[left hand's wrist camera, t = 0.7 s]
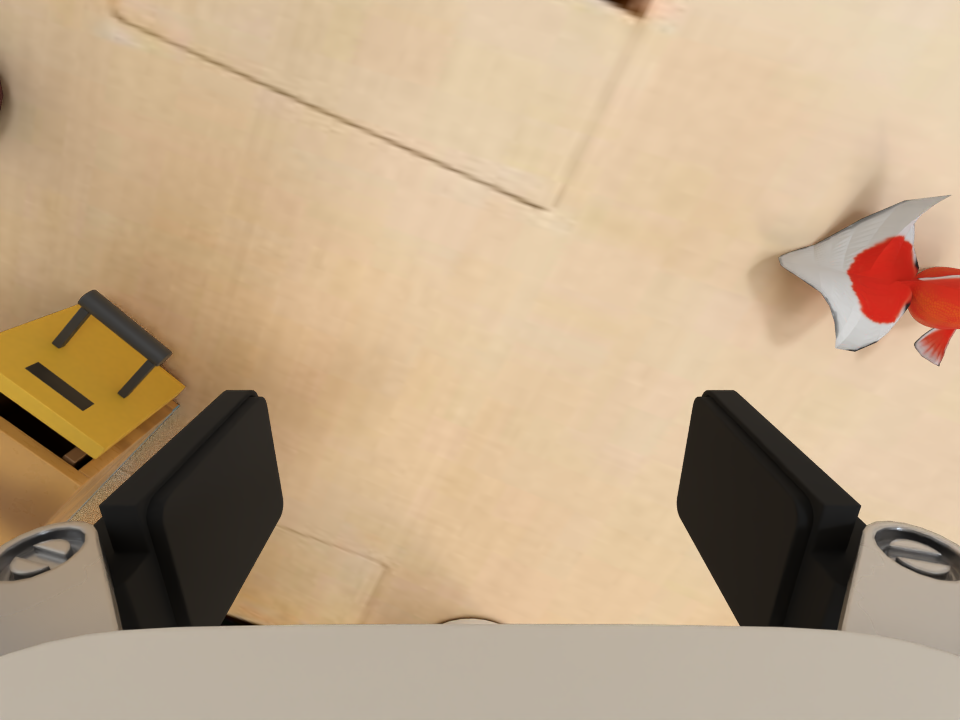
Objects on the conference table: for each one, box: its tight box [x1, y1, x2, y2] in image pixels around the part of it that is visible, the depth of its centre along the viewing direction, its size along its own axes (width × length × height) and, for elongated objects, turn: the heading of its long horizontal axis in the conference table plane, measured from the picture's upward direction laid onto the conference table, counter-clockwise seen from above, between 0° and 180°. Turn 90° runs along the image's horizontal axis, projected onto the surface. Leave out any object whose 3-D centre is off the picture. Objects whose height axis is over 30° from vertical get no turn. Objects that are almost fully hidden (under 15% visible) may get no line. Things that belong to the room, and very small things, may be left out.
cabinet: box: [0, 400, 180, 546], centre depth 40 cm, size 21×11×12 cm, turn 133°
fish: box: [779, 195, 960, 366], centre depth 36 cm, size 11×16×10 cm
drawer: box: [0, 290, 185, 470], centre depth 38 cm, size 25×10×10 cm, turn 133°
